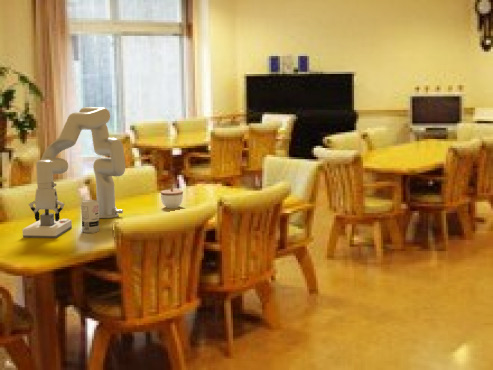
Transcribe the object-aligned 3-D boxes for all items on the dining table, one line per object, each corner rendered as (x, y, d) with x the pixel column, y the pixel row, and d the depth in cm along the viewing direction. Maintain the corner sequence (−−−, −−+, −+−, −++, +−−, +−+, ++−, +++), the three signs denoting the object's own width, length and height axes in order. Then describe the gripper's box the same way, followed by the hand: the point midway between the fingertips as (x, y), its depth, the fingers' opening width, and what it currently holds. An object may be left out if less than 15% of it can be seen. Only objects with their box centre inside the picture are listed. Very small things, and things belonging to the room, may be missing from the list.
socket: (71, 227, 360) (71, 218, 359) (55, 238, 338) (55, 228, 337) (40, 227, 361) (40, 217, 360) (22, 237, 340) (22, 227, 339)
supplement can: (83, 229, 355) (82, 199, 353) (100, 229, 356) (99, 199, 353) (81, 233, 347) (79, 202, 345) (98, 233, 348) (97, 202, 345)
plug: (54, 229, 352) (53, 208, 350) (51, 231, 347) (49, 210, 345) (44, 229, 352) (43, 208, 350) (40, 231, 347) (39, 210, 346)
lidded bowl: (182, 209, 405) (181, 189, 403) (159, 209, 405) (159, 189, 404) (184, 205, 418) (184, 186, 416) (162, 205, 418) (162, 186, 416)
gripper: (65, 184, 349) (67, 219, 351) (31, 184, 351) (33, 218, 353) (60, 187, 341) (62, 222, 344) (25, 186, 343) (27, 222, 346)
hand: (47, 220), depth 349 cm, fingers open, 9 cm apart
